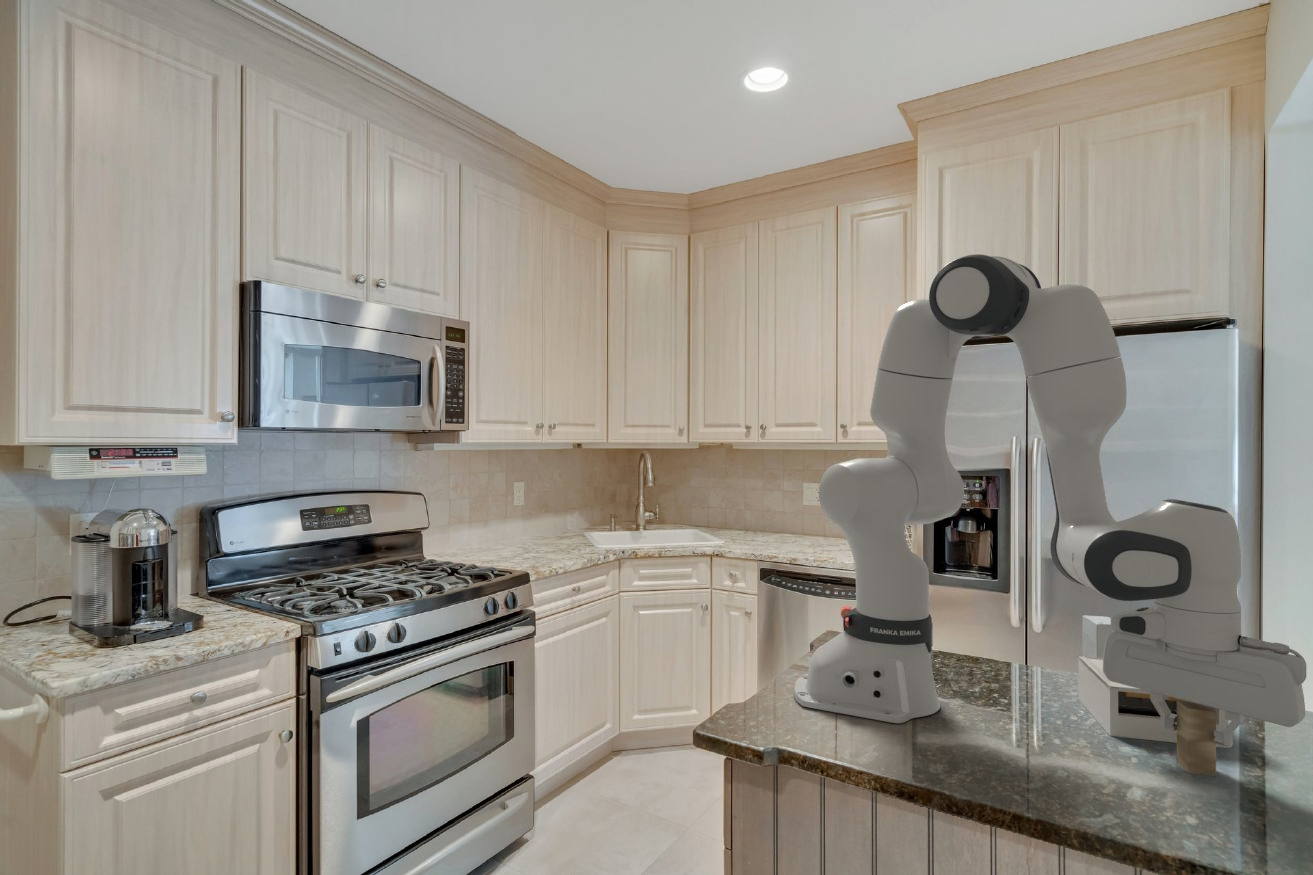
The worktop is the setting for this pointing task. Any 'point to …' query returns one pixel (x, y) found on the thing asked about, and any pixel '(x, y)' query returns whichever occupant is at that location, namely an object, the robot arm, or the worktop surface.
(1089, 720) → the worktop surface
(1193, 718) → the brown wooden block
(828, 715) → the worktop surface
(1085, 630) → the skincare box
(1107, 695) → the box
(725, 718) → the worktop surface
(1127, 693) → the button
